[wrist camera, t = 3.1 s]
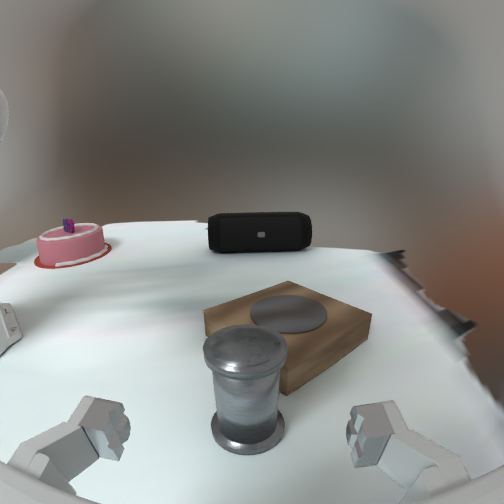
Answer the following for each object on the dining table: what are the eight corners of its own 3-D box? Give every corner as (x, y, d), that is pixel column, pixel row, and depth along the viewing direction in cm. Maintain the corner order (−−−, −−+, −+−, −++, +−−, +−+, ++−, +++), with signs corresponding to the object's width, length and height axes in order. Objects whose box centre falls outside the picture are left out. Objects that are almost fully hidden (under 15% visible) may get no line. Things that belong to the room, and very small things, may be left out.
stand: (205, 335, 42) (203, 307, 41) (287, 302, 52) (288, 278, 50) (286, 395, 30) (288, 364, 29) (367, 338, 40) (372, 311, 38)
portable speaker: (209, 258, 75) (207, 217, 72) (211, 246, 85) (209, 210, 82) (312, 255, 77) (313, 215, 74) (303, 244, 86) (304, 208, 83)
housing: (198, 423, 26) (184, 341, 23) (253, 395, 30) (251, 315, 27) (241, 467, 21) (236, 387, 18) (298, 430, 25) (308, 347, 22)
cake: (127, 250, 83) (123, 213, 80) (50, 276, 63) (42, 234, 60) (88, 239, 96) (85, 209, 93) (25, 259, 76) (19, 225, 73)
